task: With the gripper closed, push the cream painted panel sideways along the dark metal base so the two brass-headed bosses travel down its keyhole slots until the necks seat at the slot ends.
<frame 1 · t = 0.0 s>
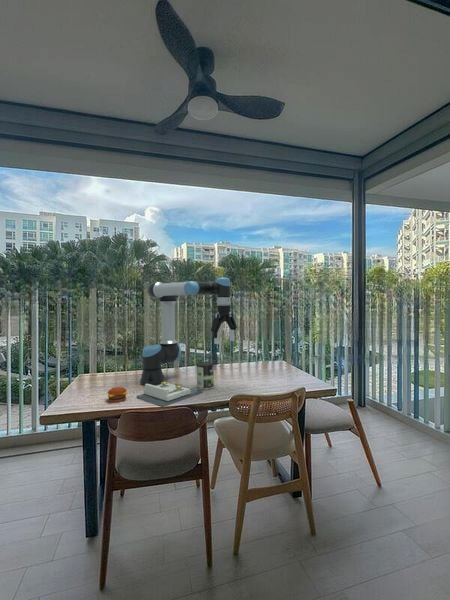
hand: (224, 342, 173), 28 cm above the table, tool pointing down, fingers open, 13 cm apart
base: (170, 395, 168), on the table
hamburger: (117, 400, 162), on the table
panel: (167, 388, 166), point 4 cm above the table, slide at 0.0 cm
coffee can: (205, 387, 183), on the table
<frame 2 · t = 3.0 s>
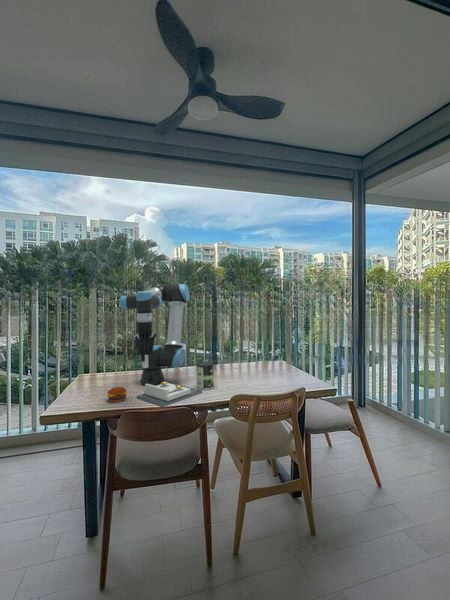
hand: (145, 367, 155), 18 cm above the table, tool pointing down, fingers closed
nothing on the table moved.
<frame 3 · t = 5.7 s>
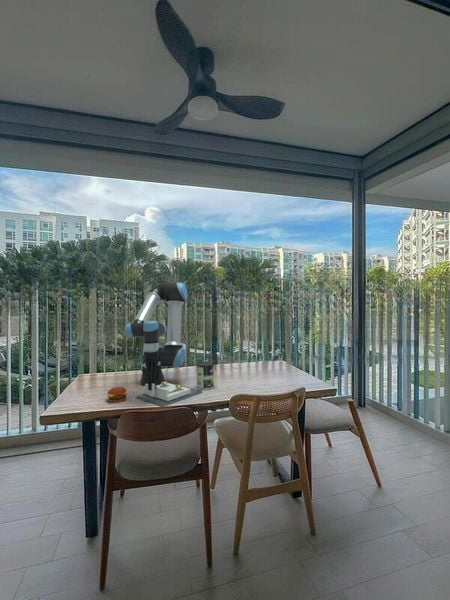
hand: (152, 395, 159), 3 cm above the table, tool pointing down, fingers closed
panel: (167, 388, 166), point 4 cm above the table, slide at 0.0 cm, touching gripper
everything else where it was.
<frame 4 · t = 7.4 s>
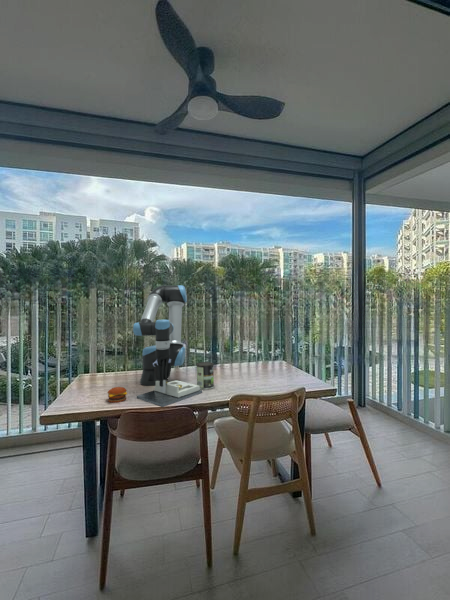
hand: (163, 392, 164), 3 cm above the table, tool pointing down, fingers closed
panel: (177, 385, 172), point 4 cm above the table, slide at 7.1 cm, touching gripper
everything else where it was.
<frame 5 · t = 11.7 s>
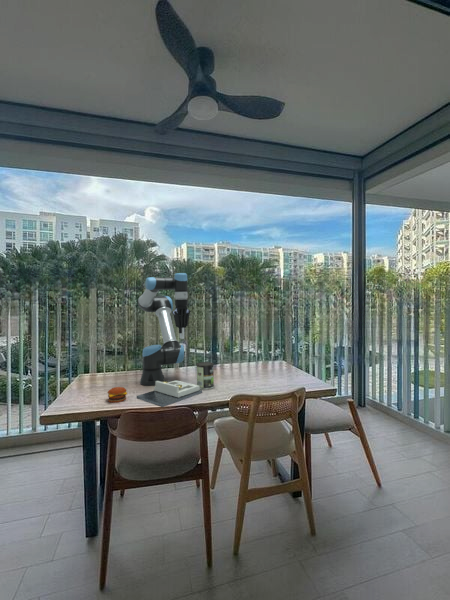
hand: (182, 338, 182), 29 cm above the table, tool pointing down, fingers closed
panel: (176, 385, 172), point 4 cm above the table, slide at 7.0 cm
everything else where it was.
at the end: panel slide at 7.0 cm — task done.
